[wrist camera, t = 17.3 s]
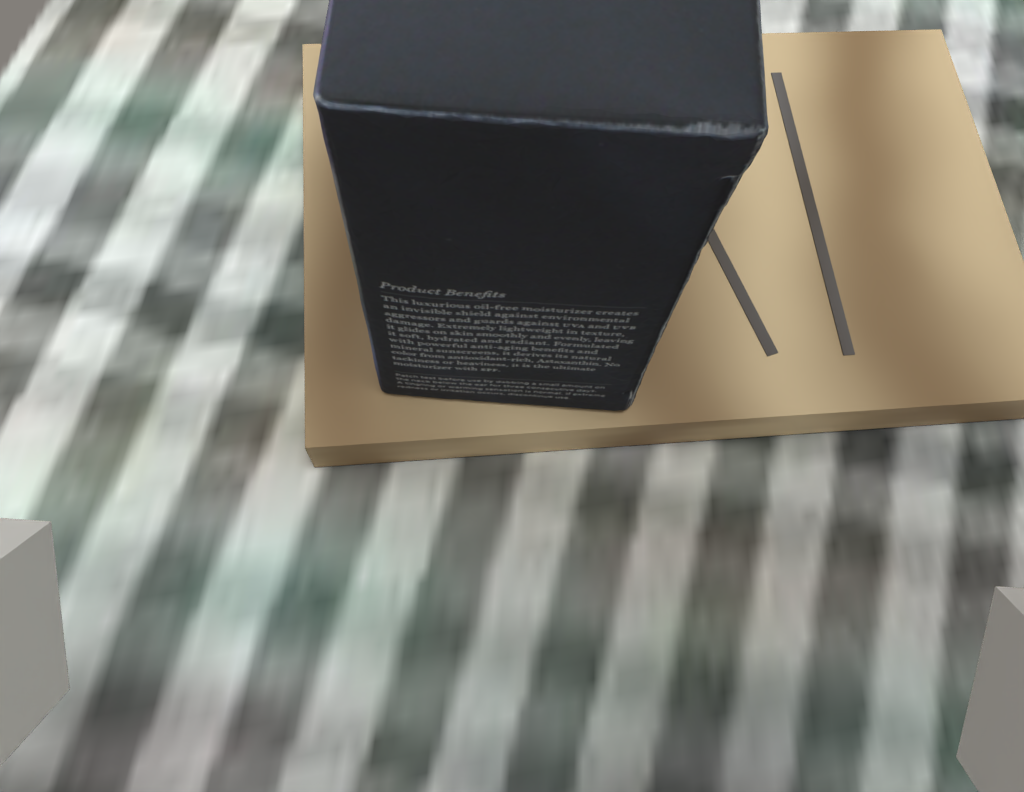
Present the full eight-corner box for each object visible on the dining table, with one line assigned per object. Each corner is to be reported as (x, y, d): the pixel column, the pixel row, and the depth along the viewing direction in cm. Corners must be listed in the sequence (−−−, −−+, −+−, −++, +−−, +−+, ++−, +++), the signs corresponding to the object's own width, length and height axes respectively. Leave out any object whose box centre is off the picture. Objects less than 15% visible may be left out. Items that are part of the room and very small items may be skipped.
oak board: (916, 65, 28) (941, 28, 26) (1034, 418, 23) (1072, 396, 22) (310, 81, 26) (302, 42, 24) (314, 467, 21) (304, 447, 20)
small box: (405, 52, 25) (374, -403, 15) (633, 71, 25) (751, -363, 15) (363, 399, 21) (286, 88, 11) (636, 417, 21) (799, 130, 11)
